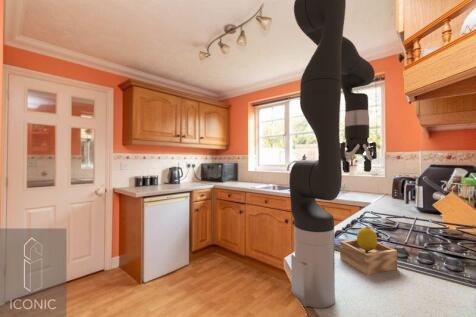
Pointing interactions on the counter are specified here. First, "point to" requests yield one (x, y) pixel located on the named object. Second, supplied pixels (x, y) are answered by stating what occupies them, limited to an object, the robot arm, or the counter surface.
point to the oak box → (368, 257)
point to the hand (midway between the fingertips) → (357, 172)
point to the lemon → (367, 239)
